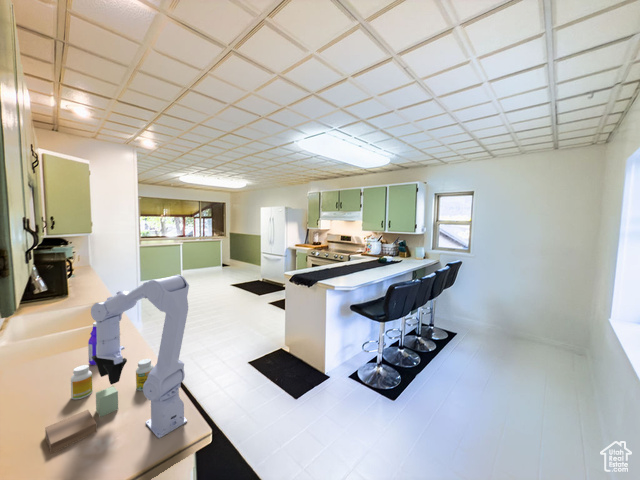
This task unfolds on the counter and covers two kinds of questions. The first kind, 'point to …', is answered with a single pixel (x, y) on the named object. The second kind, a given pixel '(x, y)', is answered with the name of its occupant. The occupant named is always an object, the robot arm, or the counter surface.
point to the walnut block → (70, 430)
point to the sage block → (106, 401)
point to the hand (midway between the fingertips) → (109, 378)
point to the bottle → (92, 344)
